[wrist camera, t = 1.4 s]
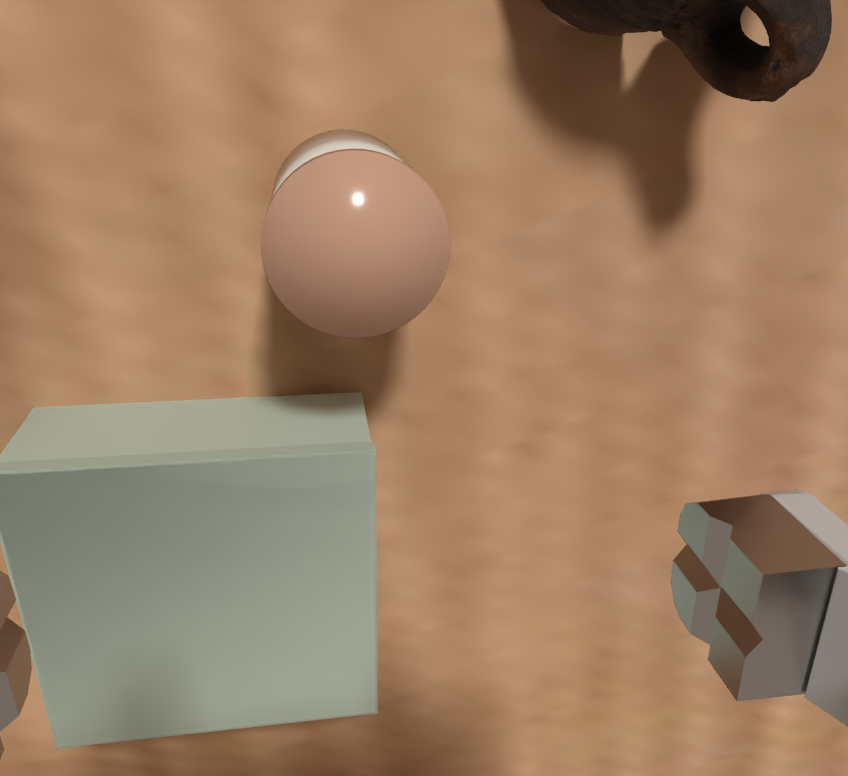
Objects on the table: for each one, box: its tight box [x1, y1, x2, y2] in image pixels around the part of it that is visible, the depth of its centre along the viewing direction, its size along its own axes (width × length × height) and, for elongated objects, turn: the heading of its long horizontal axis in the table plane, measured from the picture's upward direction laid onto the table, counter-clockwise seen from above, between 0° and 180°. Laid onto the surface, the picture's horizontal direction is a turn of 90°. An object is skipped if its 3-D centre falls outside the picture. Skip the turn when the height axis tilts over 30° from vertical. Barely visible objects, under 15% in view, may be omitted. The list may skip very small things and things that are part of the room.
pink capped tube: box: [261, 130, 450, 338], centre depth 23 cm, size 5×5×6 cm
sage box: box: [0, 392, 378, 749], centre depth 29 cm, size 12×12×5 cm
